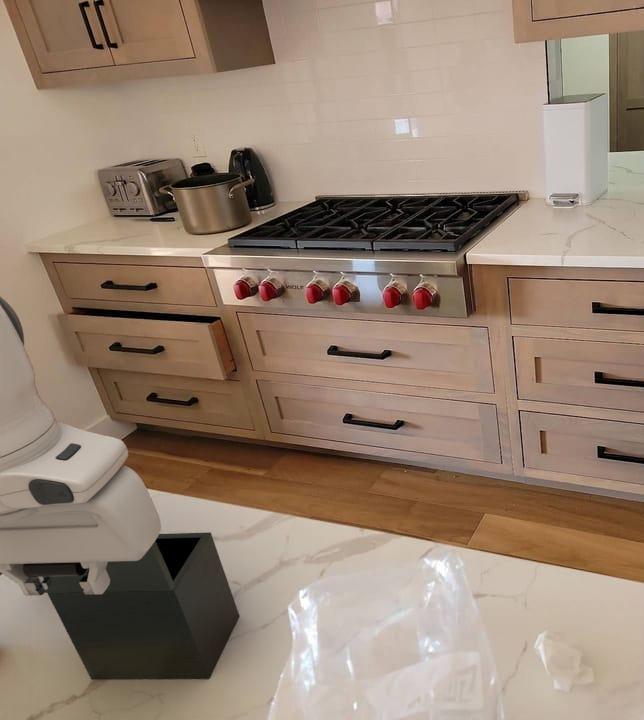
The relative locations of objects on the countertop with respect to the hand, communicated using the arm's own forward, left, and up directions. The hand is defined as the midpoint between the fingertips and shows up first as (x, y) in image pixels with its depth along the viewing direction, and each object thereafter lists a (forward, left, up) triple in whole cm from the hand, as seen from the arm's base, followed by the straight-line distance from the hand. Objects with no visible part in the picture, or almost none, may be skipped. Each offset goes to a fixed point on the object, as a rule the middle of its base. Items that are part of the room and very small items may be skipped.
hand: (69, 590), depth 62 cm
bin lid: (+3, +3, +1) cm, 4 cm away
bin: (+7, +5, -17) cm, 19 cm away
